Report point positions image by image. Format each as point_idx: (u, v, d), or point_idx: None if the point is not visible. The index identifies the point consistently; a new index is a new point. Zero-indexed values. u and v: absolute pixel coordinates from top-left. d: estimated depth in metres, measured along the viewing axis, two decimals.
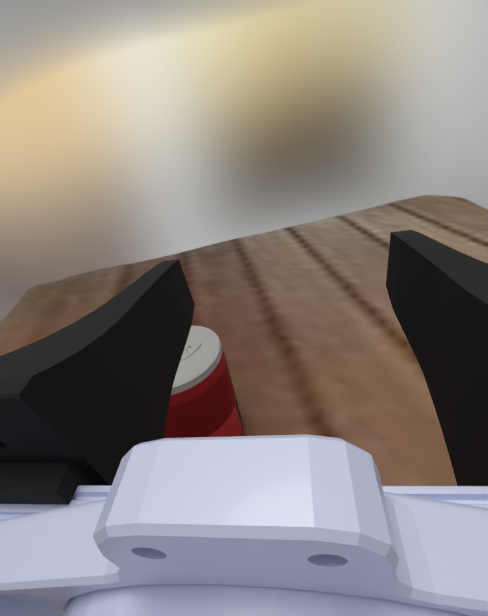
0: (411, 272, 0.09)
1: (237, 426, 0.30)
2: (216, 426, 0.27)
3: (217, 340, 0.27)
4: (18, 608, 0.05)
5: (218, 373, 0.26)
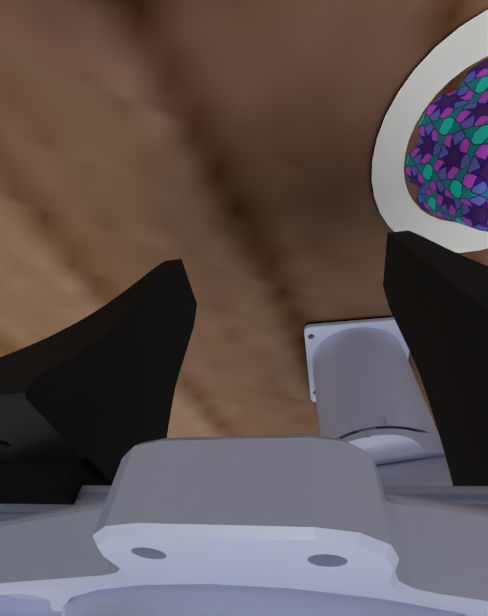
0: (407, 272, 0.09)
1: None
2: None
3: None
4: (18, 608, 0.05)
5: None
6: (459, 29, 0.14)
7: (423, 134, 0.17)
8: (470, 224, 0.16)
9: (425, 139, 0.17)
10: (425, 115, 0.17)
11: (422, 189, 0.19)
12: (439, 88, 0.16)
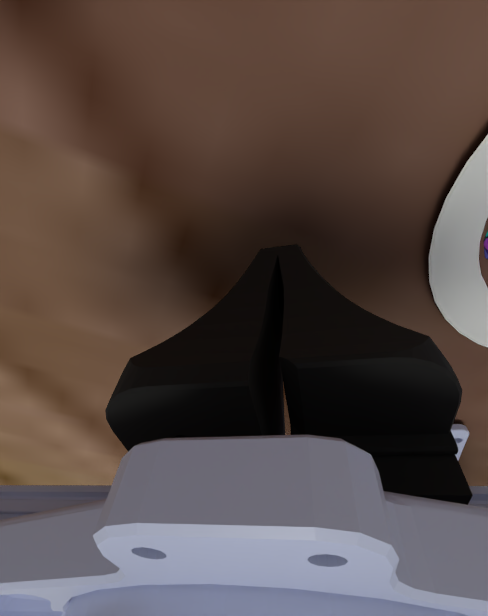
0: (282, 285, 0.10)
1: None
2: None
3: None
4: (18, 608, 0.05)
5: None
6: None
7: None
8: None
9: None
10: None
11: None
12: None
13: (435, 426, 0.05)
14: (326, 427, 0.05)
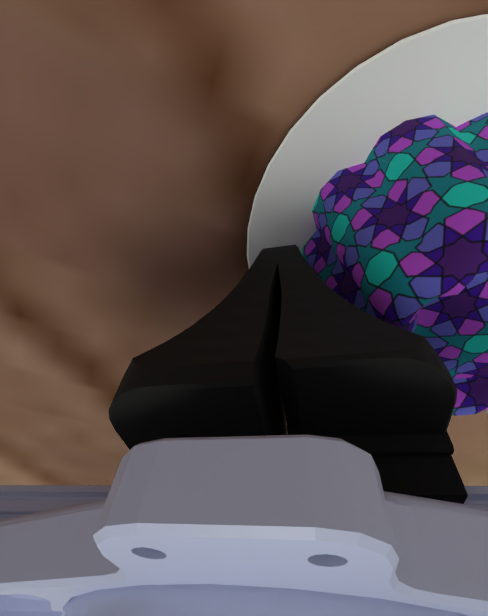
0: (280, 286, 0.10)
1: None
2: None
3: None
4: (18, 608, 0.05)
5: None
6: (355, 69, 0.08)
7: (318, 225, 0.11)
8: None
9: (321, 234, 0.11)
10: (320, 197, 0.10)
11: None
12: (337, 159, 0.10)
13: (431, 426, 0.05)
14: (322, 427, 0.05)
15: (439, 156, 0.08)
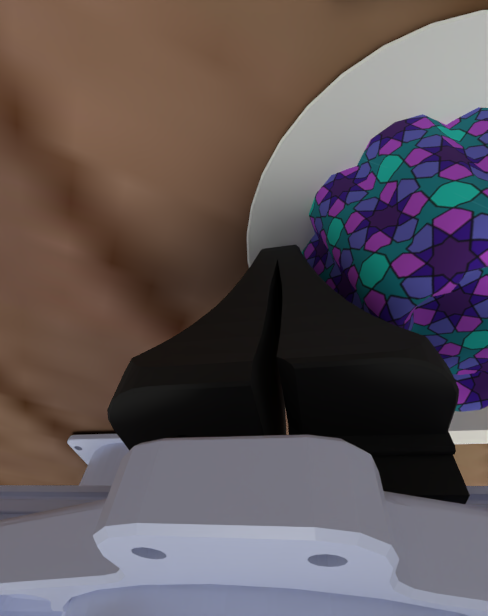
0: (281, 285, 0.10)
1: None
2: None
3: None
4: (18, 608, 0.05)
5: None
6: (340, 77, 0.08)
7: (315, 229, 0.11)
8: None
9: (319, 237, 0.11)
10: (315, 202, 0.11)
11: None
12: (330, 164, 0.10)
13: (432, 426, 0.05)
14: (323, 427, 0.05)
15: (427, 156, 0.08)
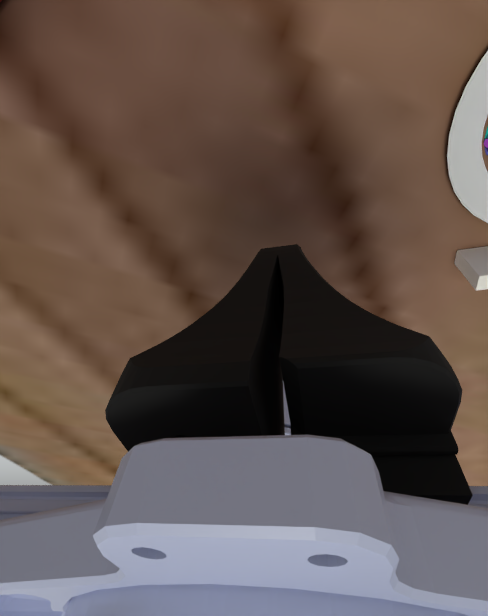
0: (282, 285, 0.10)
1: None
2: None
3: None
4: (18, 608, 0.05)
5: None
6: None
7: None
8: None
9: None
10: None
11: None
12: None
13: (435, 426, 0.05)
14: (326, 427, 0.05)
15: None
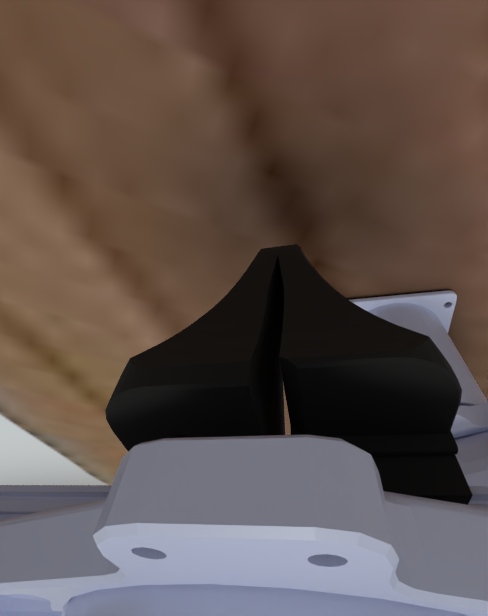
0: (282, 285, 0.10)
1: None
2: None
3: None
4: (18, 608, 0.05)
5: None
6: None
7: None
8: None
9: None
10: None
11: None
12: None
13: (435, 426, 0.05)
14: (326, 427, 0.05)
15: None
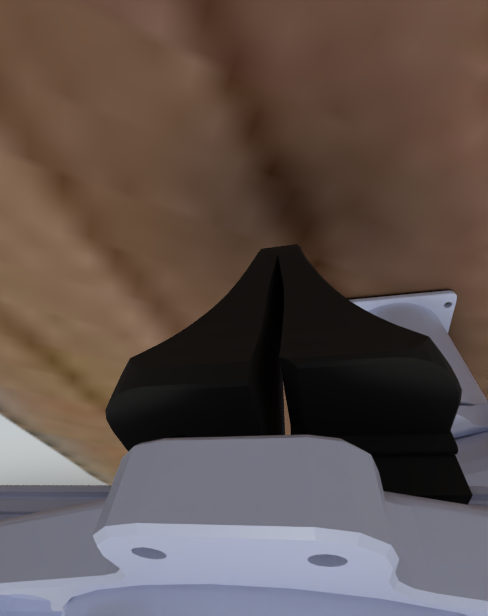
0: (282, 285, 0.10)
1: None
2: None
3: None
4: (18, 608, 0.05)
5: None
6: None
7: None
8: None
9: None
10: None
11: None
12: None
13: (435, 426, 0.05)
14: (326, 427, 0.05)
15: None
